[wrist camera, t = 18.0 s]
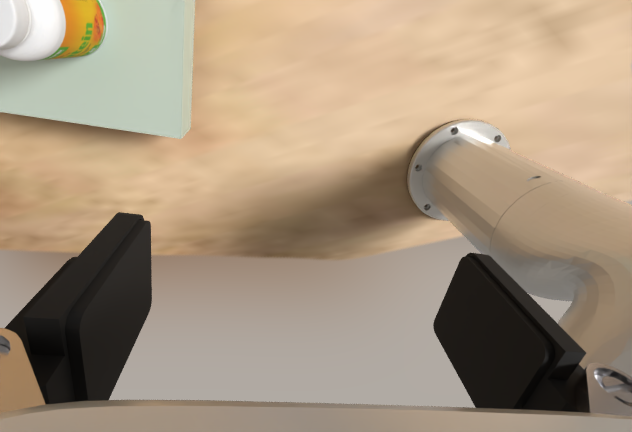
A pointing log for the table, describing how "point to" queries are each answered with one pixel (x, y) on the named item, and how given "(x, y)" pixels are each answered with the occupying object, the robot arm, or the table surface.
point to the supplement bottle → (51, 28)
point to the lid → (115, 74)
